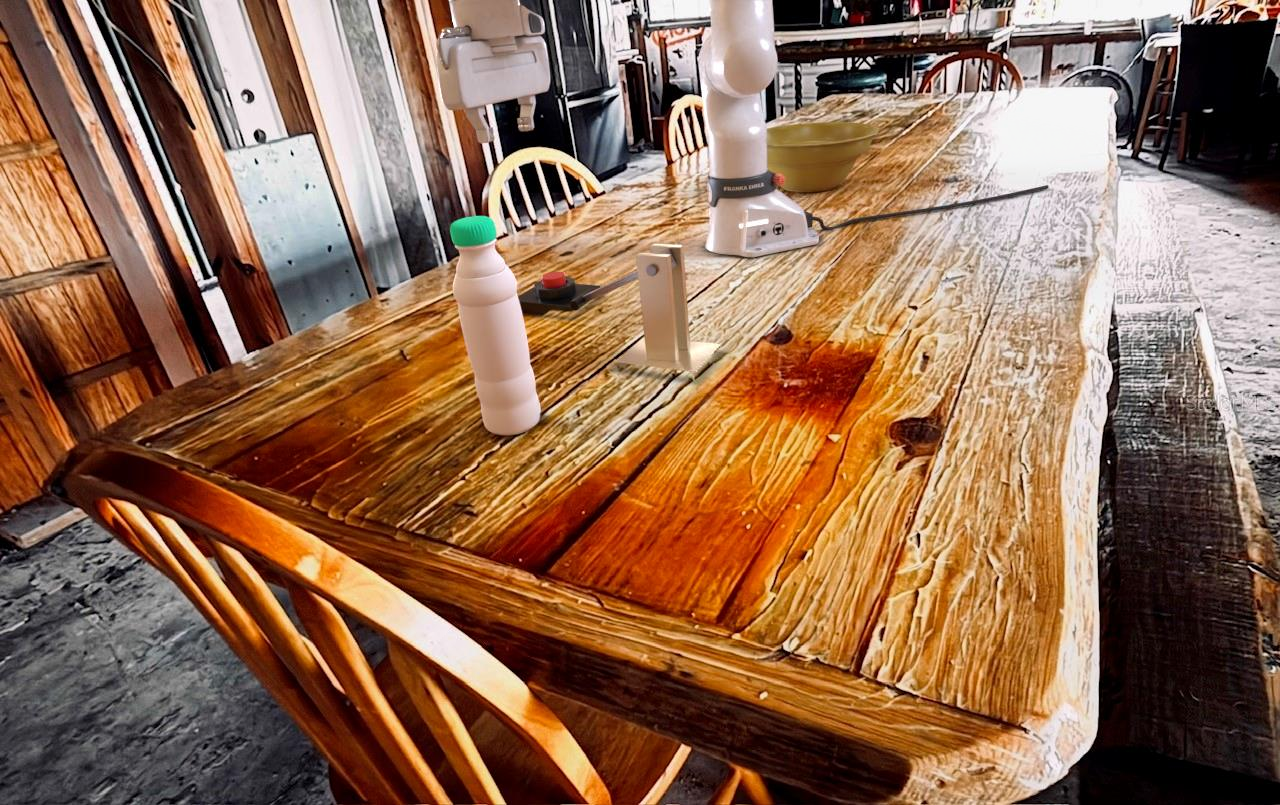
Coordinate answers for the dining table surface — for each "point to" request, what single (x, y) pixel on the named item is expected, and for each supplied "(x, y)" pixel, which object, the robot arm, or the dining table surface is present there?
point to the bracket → (665, 315)
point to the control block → (552, 297)
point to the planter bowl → (816, 153)
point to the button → (553, 279)
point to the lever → (610, 287)
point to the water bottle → (493, 329)
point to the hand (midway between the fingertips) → (507, 136)
